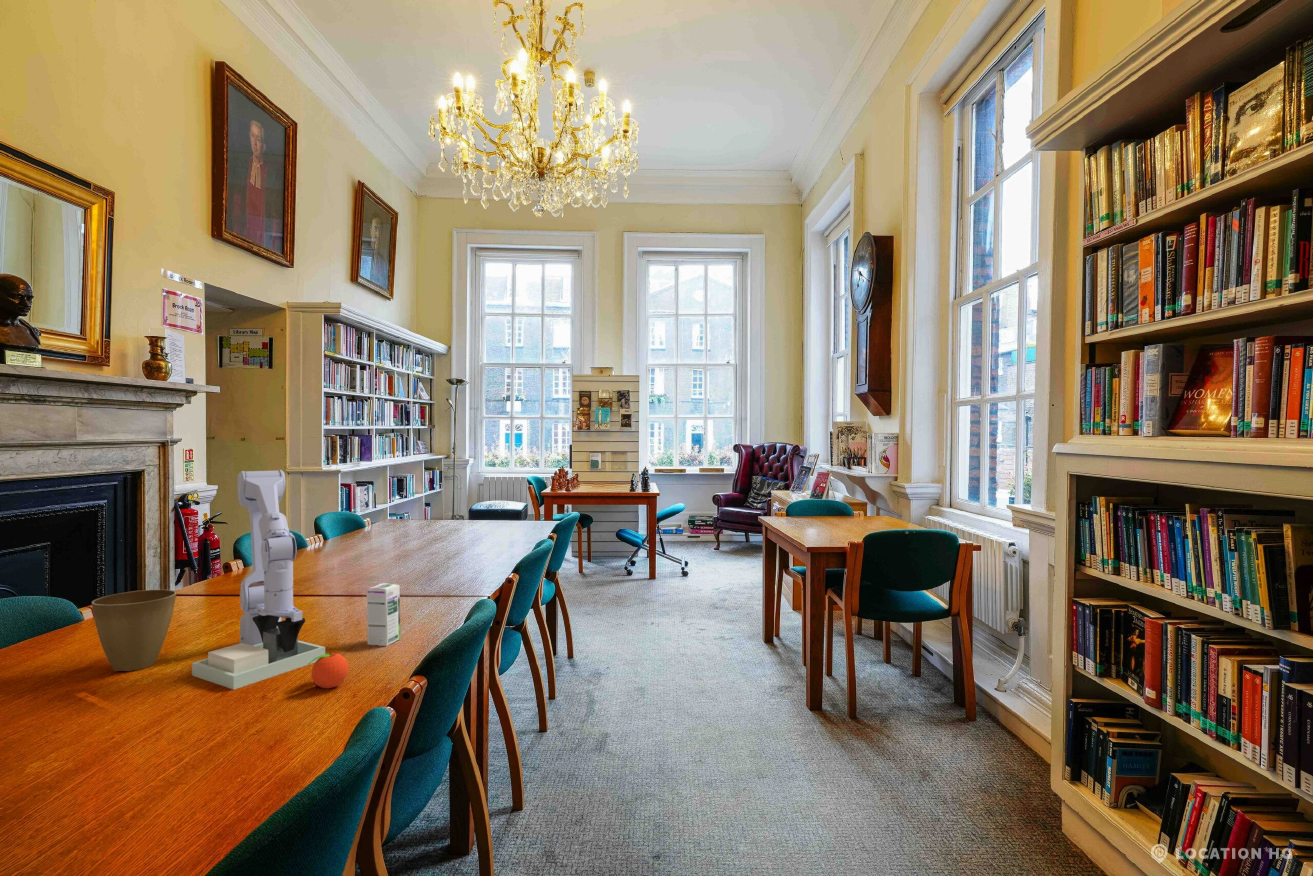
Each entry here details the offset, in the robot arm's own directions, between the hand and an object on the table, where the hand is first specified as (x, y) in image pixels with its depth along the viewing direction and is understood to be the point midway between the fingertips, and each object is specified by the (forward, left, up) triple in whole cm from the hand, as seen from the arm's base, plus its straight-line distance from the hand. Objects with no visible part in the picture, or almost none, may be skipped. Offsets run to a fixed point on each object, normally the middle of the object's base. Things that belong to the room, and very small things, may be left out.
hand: (278, 648), depth 144 cm
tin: (0, 0, -3) cm, 3 cm away
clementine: (+22, -3, -4) cm, 23 cm away
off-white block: (0, -9, -3) cm, 9 cm away
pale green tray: (0, -4, -4) cm, 6 cm away
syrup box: (+8, +22, -4) cm, 24 cm away
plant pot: (-28, -16, -4) cm, 33 cm away
